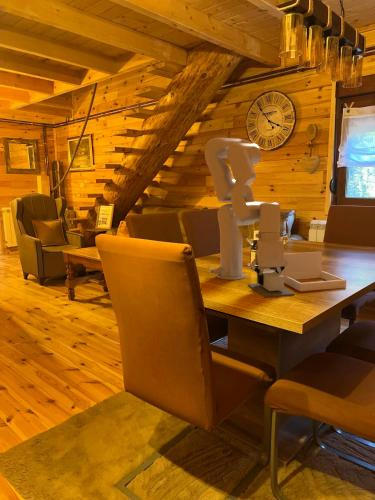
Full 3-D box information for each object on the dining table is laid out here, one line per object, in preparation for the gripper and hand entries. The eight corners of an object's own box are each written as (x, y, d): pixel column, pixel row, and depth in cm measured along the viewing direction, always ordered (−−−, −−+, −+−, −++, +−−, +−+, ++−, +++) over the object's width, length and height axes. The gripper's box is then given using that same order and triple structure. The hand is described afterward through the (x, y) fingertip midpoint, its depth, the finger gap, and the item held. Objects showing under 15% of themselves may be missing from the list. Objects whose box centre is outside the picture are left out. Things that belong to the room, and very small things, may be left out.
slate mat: (265, 297, 130) (265, 295, 130) (248, 285, 146) (248, 284, 146) (294, 295, 132) (294, 293, 132) (274, 283, 149) (274, 282, 148)
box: (269, 291, 133) (269, 277, 132) (256, 282, 144) (257, 270, 144) (283, 290, 134) (284, 276, 133) (270, 281, 145) (270, 269, 145)
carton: (300, 291, 136) (301, 262, 135) (279, 280, 153) (280, 254, 152) (346, 287, 140) (347, 259, 138) (320, 277, 157) (321, 251, 155)
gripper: (251, 238, 132) (250, 288, 135) (295, 236, 135) (294, 285, 138) (243, 236, 139) (243, 283, 142) (286, 234, 142) (285, 280, 145)
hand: (268, 283), depth 140 cm, fingers closed on box, 5 cm apart
